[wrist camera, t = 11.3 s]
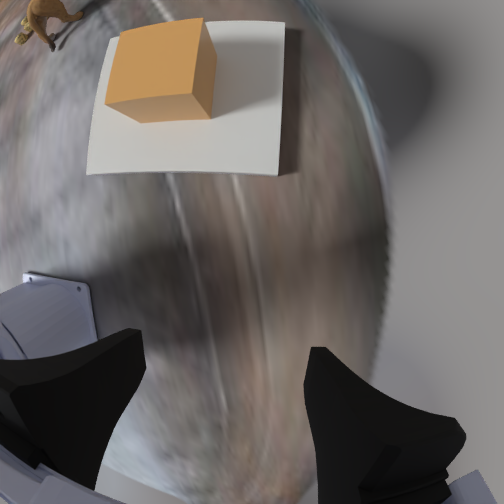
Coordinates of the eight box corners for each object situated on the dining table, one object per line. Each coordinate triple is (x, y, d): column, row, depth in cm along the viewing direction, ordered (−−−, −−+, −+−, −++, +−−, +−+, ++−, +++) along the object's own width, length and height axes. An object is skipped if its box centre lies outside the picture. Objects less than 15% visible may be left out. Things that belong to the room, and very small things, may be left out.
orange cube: (141, 123, 16) (104, 104, 11) (150, 62, 15) (120, 32, 10) (210, 119, 16) (192, 93, 11) (217, 56, 15) (203, 17, 10)
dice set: (22, 48, 16) (13, 44, 14) (26, 26, 15) (18, 21, 13) (50, 24, 15) (42, 19, 13) (53, 3, 14) (45, -2, 13)
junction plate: (96, 175, 18) (57, 173, 14) (118, 45, 16) (90, 20, 11) (276, 176, 18) (281, 169, 13) (283, 32, 16) (288, -5, 11)
